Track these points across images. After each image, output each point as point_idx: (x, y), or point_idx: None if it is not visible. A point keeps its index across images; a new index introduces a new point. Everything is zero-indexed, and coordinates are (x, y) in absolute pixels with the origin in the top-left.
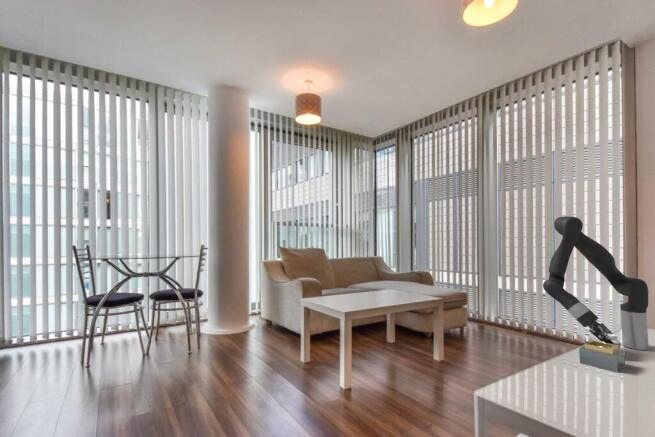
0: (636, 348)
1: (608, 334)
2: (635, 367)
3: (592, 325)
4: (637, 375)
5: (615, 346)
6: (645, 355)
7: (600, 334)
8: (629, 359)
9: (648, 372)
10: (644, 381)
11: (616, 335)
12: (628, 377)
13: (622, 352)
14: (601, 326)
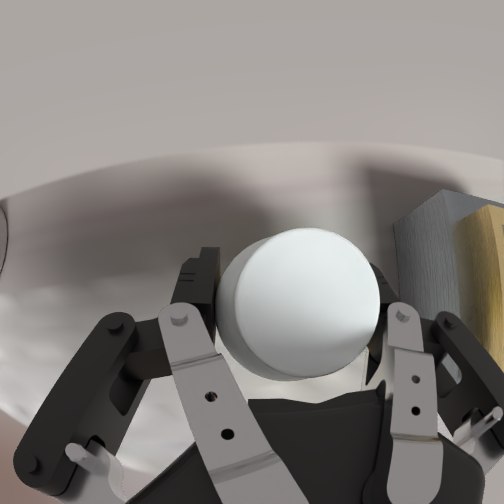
0: (3, 237)
1: (324, 336)
2: (376, 186)
3: (480, 499)
4: (459, 179)
5: None
6: (75, 188)
7: (486, 358)
8: (237, 227)
9: (394, 146)
10: (481, 165)
11: (295, 237)
12: None
13: (475, 197)
14: (295, 488)
